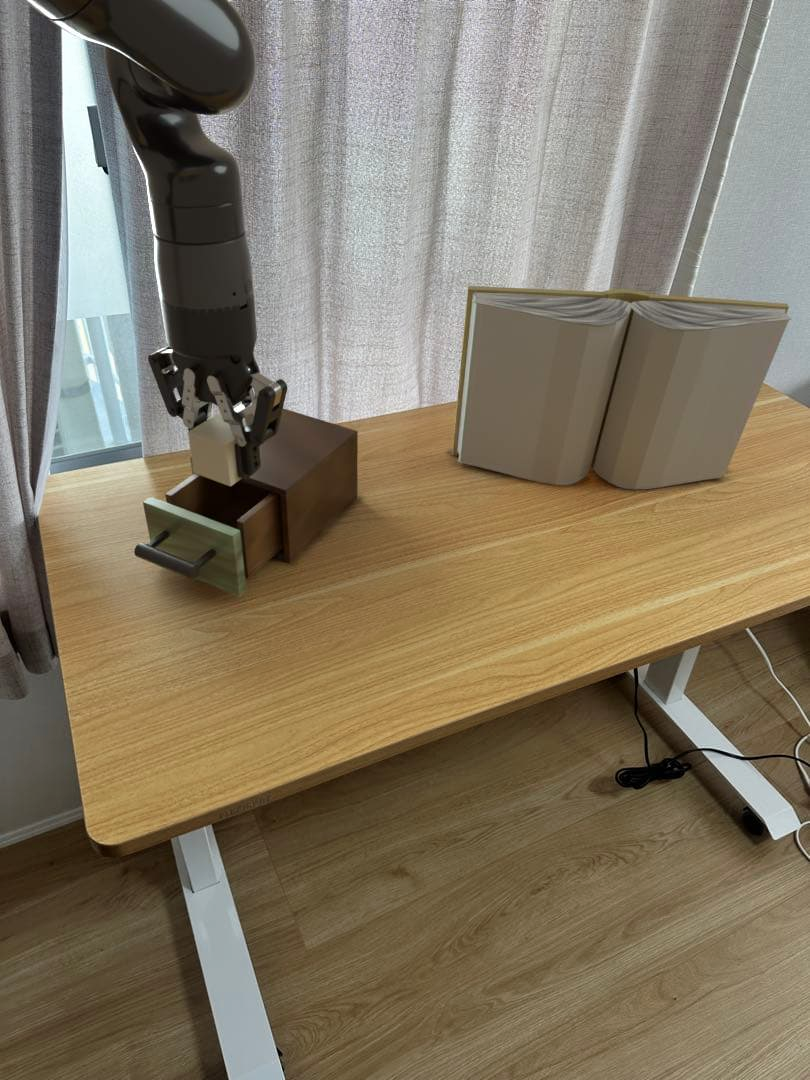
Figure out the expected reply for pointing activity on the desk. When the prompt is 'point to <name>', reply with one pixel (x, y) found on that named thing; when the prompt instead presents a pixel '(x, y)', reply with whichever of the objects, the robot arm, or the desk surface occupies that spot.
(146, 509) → the drawer
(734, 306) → the book
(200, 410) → the robot arm
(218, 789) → the desk surface
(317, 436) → the cabinet
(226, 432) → the block
